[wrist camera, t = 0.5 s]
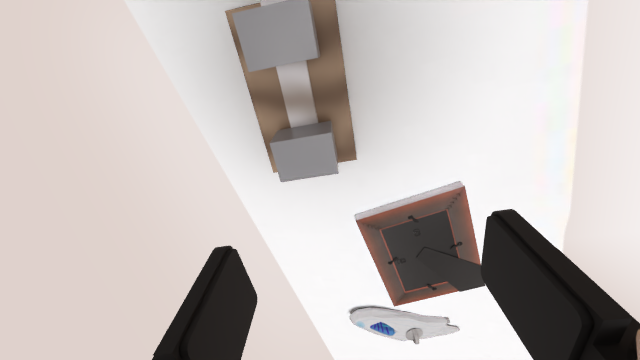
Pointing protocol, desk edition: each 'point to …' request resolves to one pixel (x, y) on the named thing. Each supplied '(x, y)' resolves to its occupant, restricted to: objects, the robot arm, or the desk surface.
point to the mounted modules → (280, 49)
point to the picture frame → (424, 244)
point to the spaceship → (401, 324)
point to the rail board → (303, 85)
